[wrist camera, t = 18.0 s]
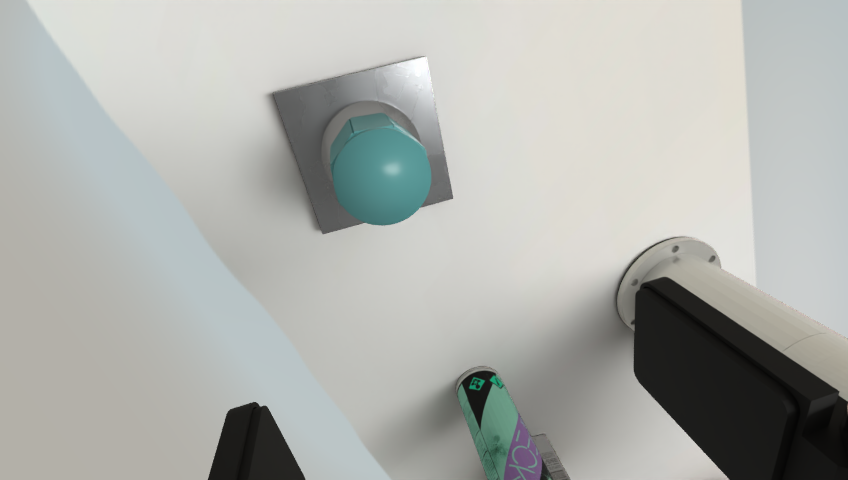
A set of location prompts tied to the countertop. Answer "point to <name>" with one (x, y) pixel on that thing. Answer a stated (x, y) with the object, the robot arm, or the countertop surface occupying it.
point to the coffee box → (550, 458)
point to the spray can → (498, 428)
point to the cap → (379, 170)
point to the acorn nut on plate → (351, 97)
